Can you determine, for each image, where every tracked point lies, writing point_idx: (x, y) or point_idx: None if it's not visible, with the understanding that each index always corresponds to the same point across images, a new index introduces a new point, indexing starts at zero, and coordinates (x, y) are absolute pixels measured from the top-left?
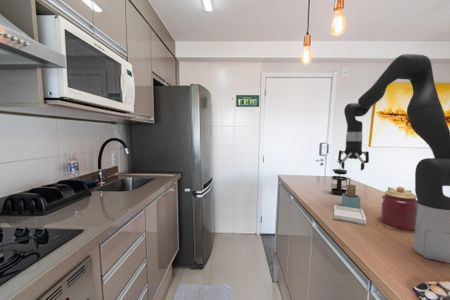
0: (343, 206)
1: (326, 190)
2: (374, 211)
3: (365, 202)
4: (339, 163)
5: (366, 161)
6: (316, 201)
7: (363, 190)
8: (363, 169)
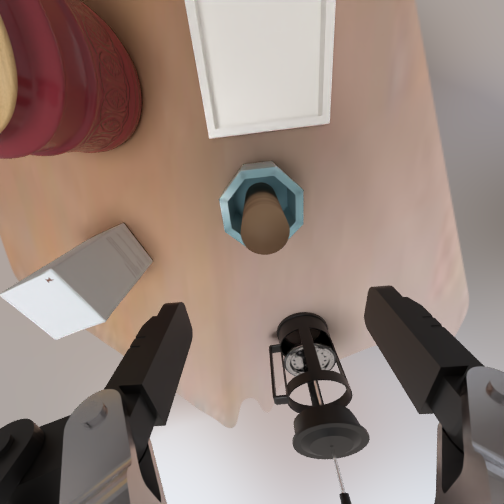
0: (286, 174)
1: (340, 353)
2: (180, 206)
3: (217, 292)
4: (349, 500)
5: (13, 452)
6: (390, 202)
7: (233, 397)
8: (153, 316)
